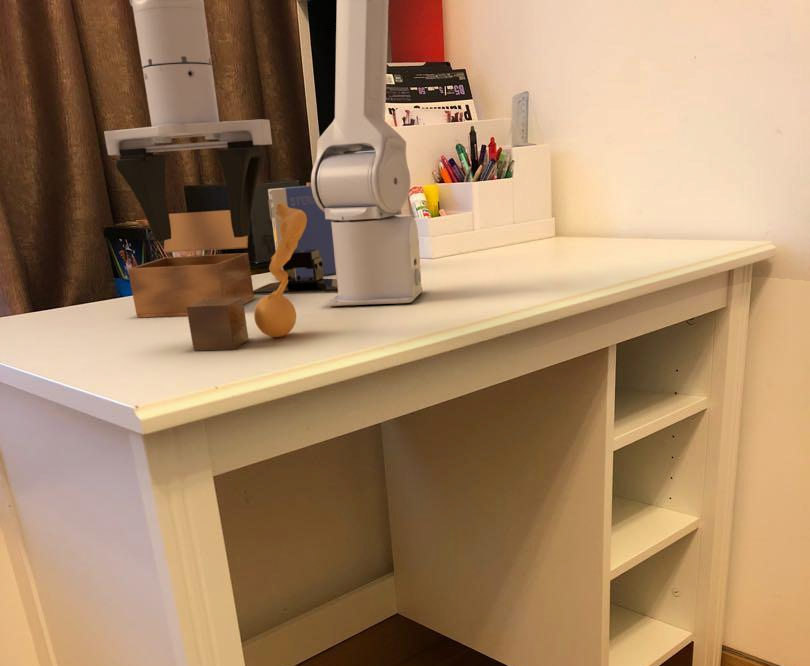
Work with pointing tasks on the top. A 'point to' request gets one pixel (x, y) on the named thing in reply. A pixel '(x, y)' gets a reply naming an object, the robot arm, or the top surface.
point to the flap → (202, 232)
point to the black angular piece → (303, 284)
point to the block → (217, 324)
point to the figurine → (281, 276)
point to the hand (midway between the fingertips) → (202, 238)
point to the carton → (189, 282)
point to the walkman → (316, 226)
